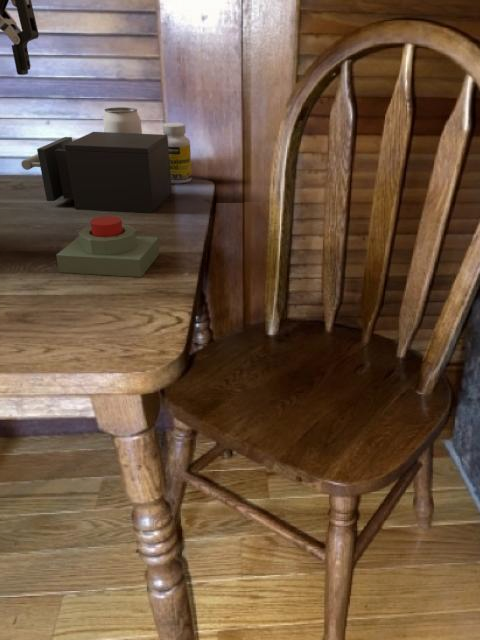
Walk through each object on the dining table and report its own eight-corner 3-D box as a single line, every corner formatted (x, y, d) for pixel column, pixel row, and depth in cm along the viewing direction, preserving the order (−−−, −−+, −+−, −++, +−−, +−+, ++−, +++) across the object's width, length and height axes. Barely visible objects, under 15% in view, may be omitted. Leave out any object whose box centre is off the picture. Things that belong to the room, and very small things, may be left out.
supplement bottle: (166, 185, 103) (162, 127, 98) (159, 178, 108) (155, 122, 102) (195, 183, 105) (192, 126, 100) (187, 176, 110) (184, 121, 104)
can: (121, 185, 102) (112, 113, 96) (104, 178, 106) (95, 108, 100) (153, 180, 106) (146, 110, 100) (135, 174, 110) (128, 106, 104)
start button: (87, 238, 68) (85, 224, 67) (98, 229, 71) (96, 215, 70) (117, 240, 67) (115, 225, 66) (127, 230, 70) (125, 216, 69)
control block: (59, 272, 68) (53, 240, 66) (84, 249, 75) (79, 219, 72) (141, 277, 67) (137, 244, 65) (159, 253, 74) (157, 223, 72)
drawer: (21, 199, 90) (10, 147, 86) (49, 183, 99) (40, 135, 95) (117, 204, 89) (111, 152, 85) (137, 187, 98) (132, 139, 94)
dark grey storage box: (75, 209, 90) (64, 144, 85) (101, 190, 99) (92, 131, 94) (153, 213, 89) (147, 148, 84) (172, 193, 99) (167, 134, 94)
